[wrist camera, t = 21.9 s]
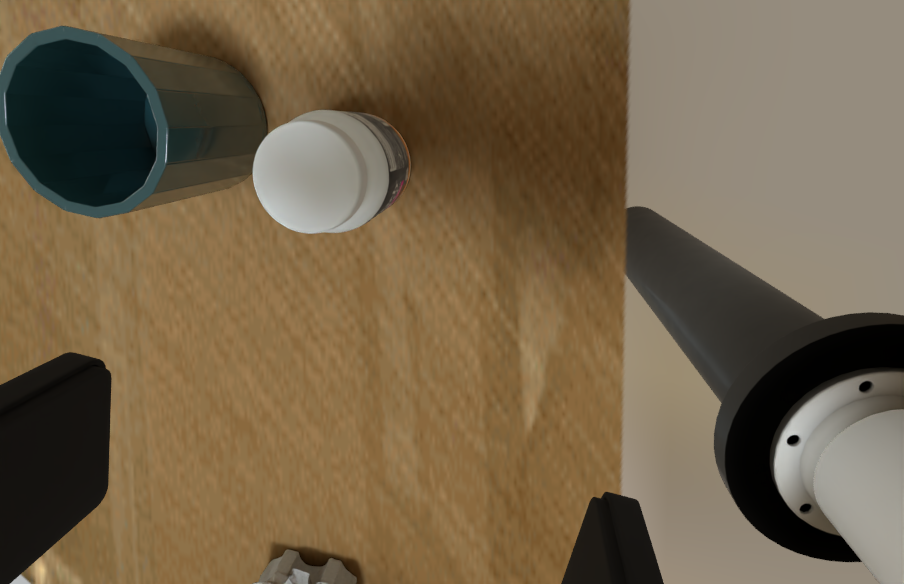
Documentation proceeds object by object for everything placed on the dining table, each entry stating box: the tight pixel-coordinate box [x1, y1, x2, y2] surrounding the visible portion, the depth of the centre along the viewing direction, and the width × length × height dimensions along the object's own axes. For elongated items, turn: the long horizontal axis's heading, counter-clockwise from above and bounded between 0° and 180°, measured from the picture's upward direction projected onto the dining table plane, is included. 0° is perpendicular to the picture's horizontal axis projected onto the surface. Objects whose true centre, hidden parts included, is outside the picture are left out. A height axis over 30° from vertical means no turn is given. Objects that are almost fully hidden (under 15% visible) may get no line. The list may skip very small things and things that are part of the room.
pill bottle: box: [253, 110, 411, 234], centre depth 28 cm, size 6×6×10 cm
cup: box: [0, 26, 267, 218], centre depth 28 cm, size 8×8×10 cm
